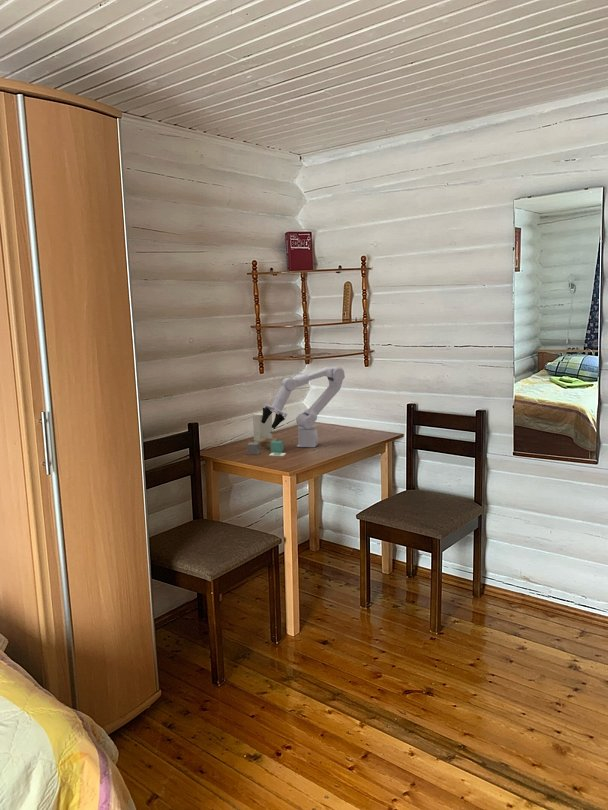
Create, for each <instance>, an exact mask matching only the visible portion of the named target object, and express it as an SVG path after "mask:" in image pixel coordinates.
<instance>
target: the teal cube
mask: <svg viewBox="0 0 608 810" xmlns="http://www.w3.org/2000/svg"><path fill="white" fill-rule="evenodd" d="M284 450H285V449H284V440H283V439H281V440H279V439H278V440H273V441H272V442H271V449H270V453H283V452H284Z"/></svg>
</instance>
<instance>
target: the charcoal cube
mask: <svg viewBox="0 0 608 810" xmlns="http://www.w3.org/2000/svg"><path fill="white" fill-rule="evenodd" d="M246 453H247V455H249V456H251V455H252V456H258V455H259V454H261V449H260V442H254V441H250V442H248V443H246Z"/></svg>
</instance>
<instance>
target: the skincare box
mask: <svg viewBox="0 0 608 810" xmlns="http://www.w3.org/2000/svg"><path fill="white" fill-rule="evenodd" d="M262 415H263V412H259V413H254V414H253V415H252V419H253V423H252V424H253V442H258V441H259V440H260V439H262V438H273V428H272V424H273V416H272V415H273V414H271V415H270V416H269V417H268V419H267V420H266V422H265V424H264V423H262V422H261V420H262Z"/></svg>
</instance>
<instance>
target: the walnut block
mask: <svg viewBox="0 0 608 810" xmlns="http://www.w3.org/2000/svg"><path fill="white" fill-rule="evenodd" d="M273 440H279V438H273V437H272V438H262V439H260V440H259V441H258V442H260V450H271V442H272V441H273Z"/></svg>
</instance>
